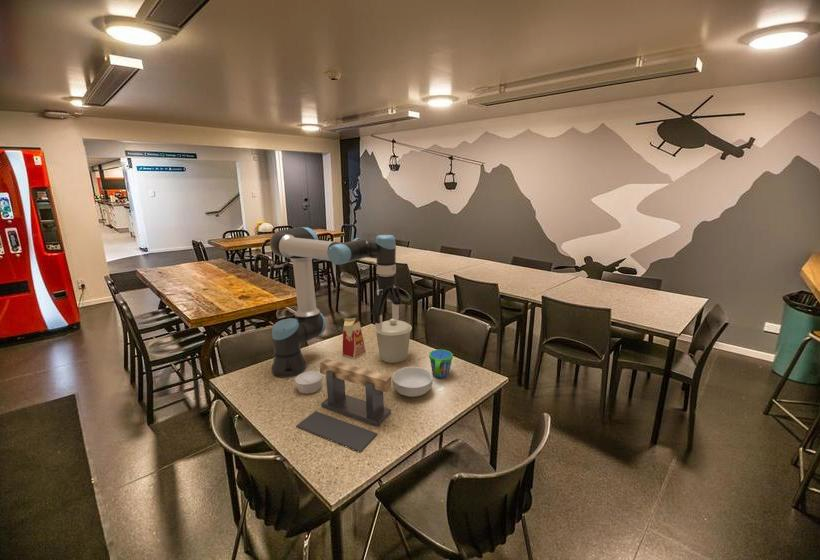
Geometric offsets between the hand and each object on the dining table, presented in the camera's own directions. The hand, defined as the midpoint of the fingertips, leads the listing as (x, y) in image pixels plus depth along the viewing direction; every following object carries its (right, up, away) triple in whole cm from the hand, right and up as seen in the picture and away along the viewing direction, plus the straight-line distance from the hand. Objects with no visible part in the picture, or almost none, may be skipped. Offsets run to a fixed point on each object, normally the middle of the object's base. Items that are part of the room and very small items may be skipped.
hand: (387, 324), depth 151 cm
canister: (+1, -21, +31) cm, 37 cm away
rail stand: (-12, -32, -11) cm, 35 cm away
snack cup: (+23, -25, +15) cm, 37 cm away
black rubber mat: (-17, -35, -22) cm, 44 cm away
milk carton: (-20, -20, +36) cm, 46 cm away
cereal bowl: (+10, -28, +2) cm, 30 cm away
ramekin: (-33, -28, +5) cm, 44 cm away
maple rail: (-12, -19, -14) cm, 26 cm away
